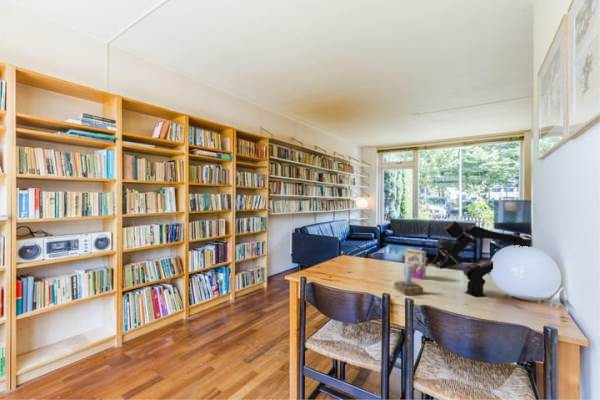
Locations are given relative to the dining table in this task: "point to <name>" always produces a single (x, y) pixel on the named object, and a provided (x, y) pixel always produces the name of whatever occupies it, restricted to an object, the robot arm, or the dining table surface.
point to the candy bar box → (416, 263)
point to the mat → (404, 281)
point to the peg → (408, 276)
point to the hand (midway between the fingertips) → (436, 265)
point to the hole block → (408, 288)
